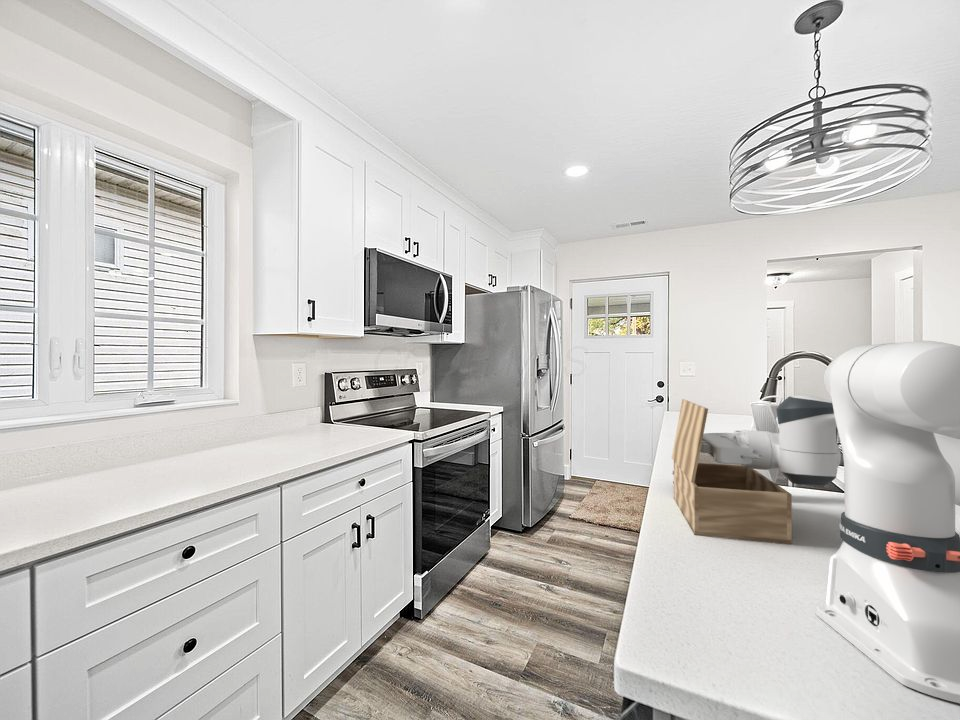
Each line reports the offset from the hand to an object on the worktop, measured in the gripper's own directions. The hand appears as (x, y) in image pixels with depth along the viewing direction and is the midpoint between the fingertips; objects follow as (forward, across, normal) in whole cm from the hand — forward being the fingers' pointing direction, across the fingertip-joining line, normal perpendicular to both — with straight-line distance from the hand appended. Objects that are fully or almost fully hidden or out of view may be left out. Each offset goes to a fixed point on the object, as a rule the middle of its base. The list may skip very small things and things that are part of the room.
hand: (686, 445), depth 106 cm
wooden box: (-8, -1, -16) cm, 18 cm away
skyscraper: (-22, +20, -17) cm, 34 cm away
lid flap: (0, -2, +2) cm, 3 cm away
